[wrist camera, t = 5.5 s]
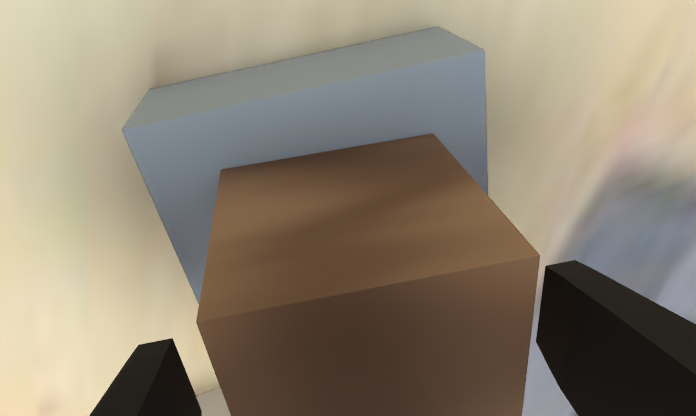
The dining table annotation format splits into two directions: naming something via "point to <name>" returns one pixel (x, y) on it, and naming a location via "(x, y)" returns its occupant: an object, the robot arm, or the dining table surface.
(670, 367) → the robot arm
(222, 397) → the grey cube
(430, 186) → the walnut cube
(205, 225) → the base block
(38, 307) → the dining table surface
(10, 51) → the dining table surface
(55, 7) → the dining table surface
